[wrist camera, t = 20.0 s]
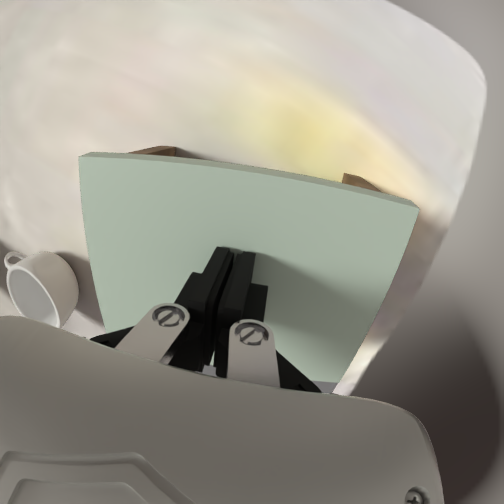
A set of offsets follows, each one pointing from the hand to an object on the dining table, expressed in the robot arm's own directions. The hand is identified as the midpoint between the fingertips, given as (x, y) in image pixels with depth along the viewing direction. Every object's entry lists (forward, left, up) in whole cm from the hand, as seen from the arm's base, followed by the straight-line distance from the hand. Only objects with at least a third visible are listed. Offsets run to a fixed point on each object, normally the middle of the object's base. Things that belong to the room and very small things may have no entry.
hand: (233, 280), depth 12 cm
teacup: (-9, +20, -10) cm, 24 cm away
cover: (-1, 0, -1) cm, 2 cm away
